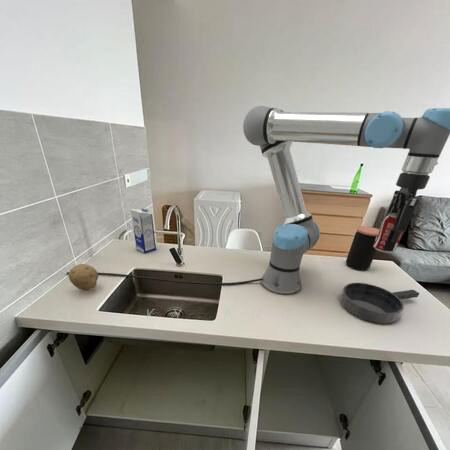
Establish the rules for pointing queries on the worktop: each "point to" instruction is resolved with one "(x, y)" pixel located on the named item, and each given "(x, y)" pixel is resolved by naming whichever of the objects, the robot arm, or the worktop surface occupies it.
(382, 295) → the pan
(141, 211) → the milk carton
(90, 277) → the potato
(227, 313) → the worktop surface
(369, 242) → the coffee jar
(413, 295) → the pan handle
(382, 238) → the soda can
